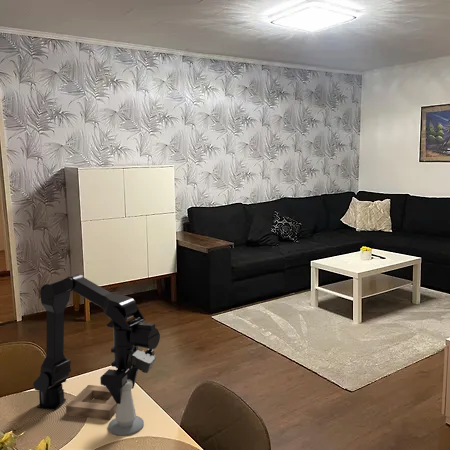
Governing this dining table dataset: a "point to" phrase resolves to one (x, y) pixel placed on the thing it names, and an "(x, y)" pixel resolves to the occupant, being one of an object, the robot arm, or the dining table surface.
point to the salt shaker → (126, 407)
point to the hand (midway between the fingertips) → (125, 395)
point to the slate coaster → (123, 431)
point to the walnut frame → (92, 404)
